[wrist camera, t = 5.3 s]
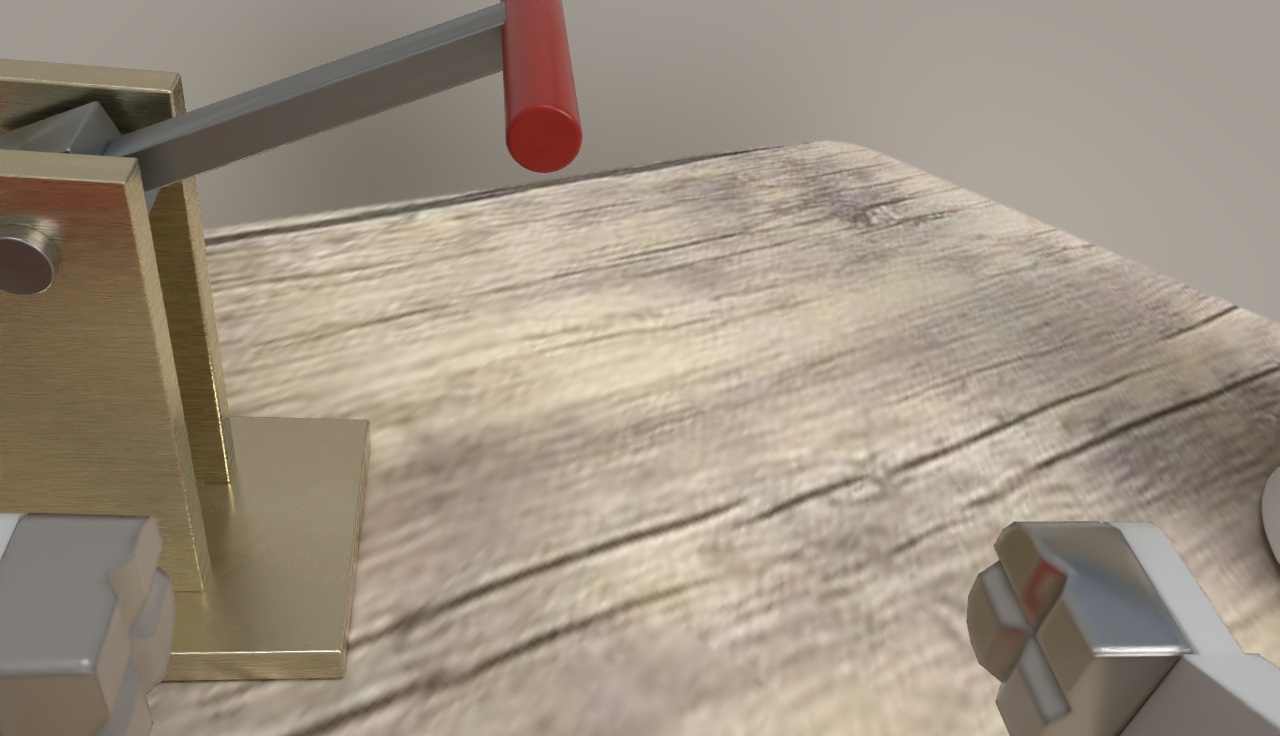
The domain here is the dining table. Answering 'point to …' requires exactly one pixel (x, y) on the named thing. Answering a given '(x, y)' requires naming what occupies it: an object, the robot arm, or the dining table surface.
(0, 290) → the bracket
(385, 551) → the dining table surface
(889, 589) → the dining table surface
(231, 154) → the lever
